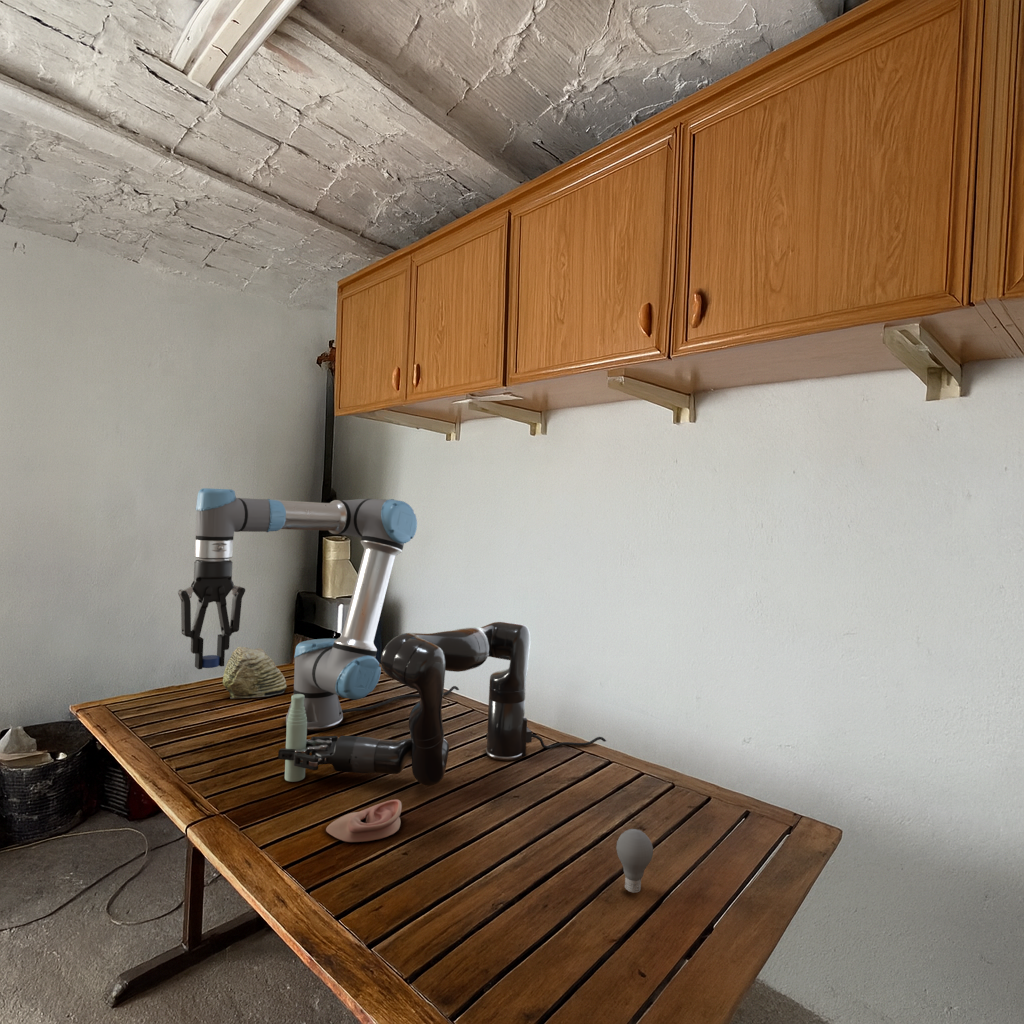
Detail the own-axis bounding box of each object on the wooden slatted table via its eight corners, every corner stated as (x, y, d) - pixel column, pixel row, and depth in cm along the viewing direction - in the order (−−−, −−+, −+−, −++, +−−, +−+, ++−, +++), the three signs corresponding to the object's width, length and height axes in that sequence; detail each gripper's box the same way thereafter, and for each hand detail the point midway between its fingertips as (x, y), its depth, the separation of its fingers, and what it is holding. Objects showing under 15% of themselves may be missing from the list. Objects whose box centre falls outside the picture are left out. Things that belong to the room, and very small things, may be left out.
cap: (222, 663, 140) (223, 655, 140) (214, 668, 136) (214, 659, 136) (204, 663, 140) (205, 654, 140) (196, 667, 136) (196, 659, 136)
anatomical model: (318, 816, 117) (346, 789, 129) (317, 837, 118) (346, 808, 129) (385, 827, 115) (408, 798, 126) (384, 848, 115) (407, 818, 126)
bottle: (284, 782, 140) (287, 699, 139) (284, 774, 144) (287, 693, 143) (305, 780, 141) (308, 698, 141) (304, 772, 145) (307, 692, 145)
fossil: (218, 695, 195) (220, 647, 195) (278, 685, 208) (279, 640, 207) (228, 703, 189) (230, 653, 188) (289, 692, 201) (290, 645, 201)
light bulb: (610, 879, 108) (613, 822, 108) (644, 879, 109) (647, 822, 109) (619, 902, 102) (622, 840, 102) (655, 901, 103) (658, 840, 103)
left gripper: (176, 562, 129) (171, 676, 130) (259, 559, 141) (255, 664, 141) (166, 558, 135) (162, 668, 135) (247, 556, 146) (242, 657, 146)
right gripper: (368, 726, 148) (297, 721, 149) (348, 750, 134) (270, 744, 135) (367, 758, 148) (295, 753, 150) (347, 785, 134) (268, 779, 135)
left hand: (209, 666), depth 138 cm, fingers closed on cap, 4 cm apart
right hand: (284, 749), depth 142 cm, fingers closed on bottle, 4 cm apart
